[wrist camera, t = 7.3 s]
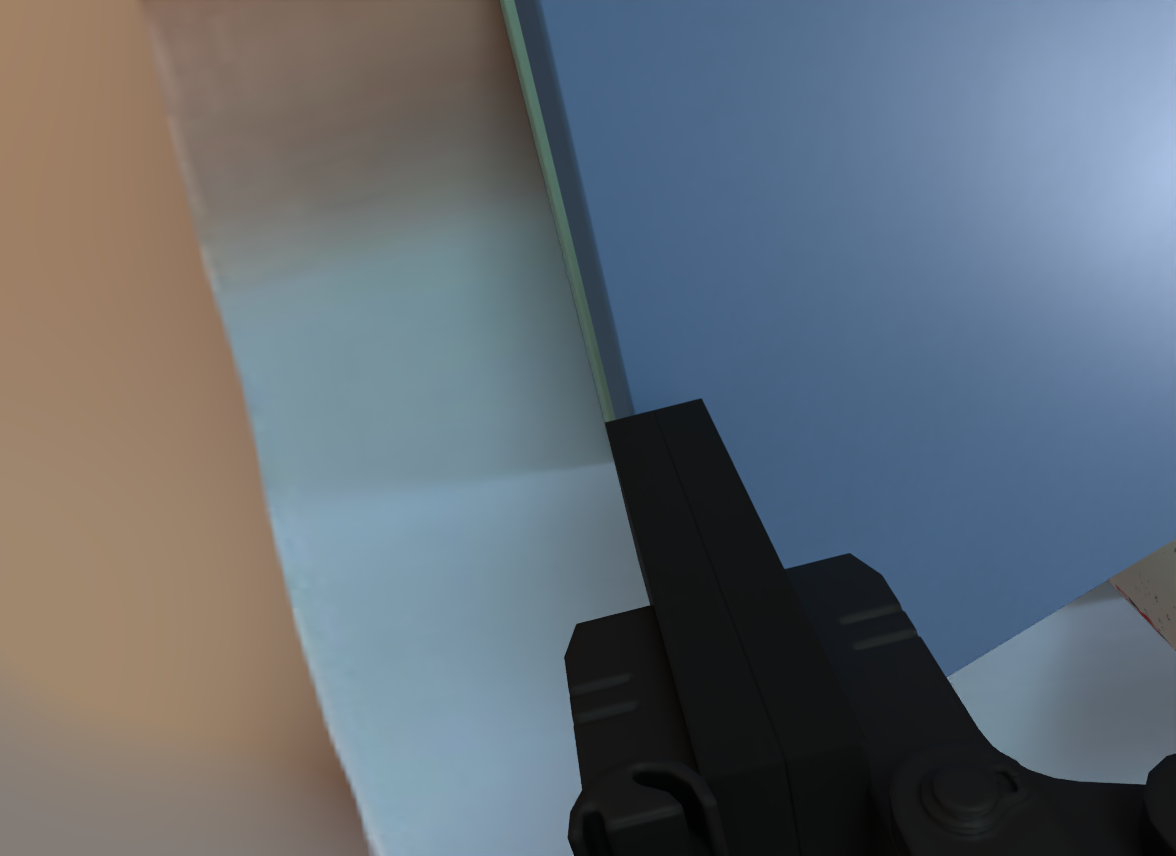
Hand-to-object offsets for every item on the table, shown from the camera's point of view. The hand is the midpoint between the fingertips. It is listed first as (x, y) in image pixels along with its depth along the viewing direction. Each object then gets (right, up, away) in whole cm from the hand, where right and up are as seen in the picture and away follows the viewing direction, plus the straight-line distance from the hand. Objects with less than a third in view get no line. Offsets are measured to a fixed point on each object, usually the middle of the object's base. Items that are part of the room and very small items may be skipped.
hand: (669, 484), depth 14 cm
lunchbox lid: (+7, +4, +3) cm, 9 cm away
